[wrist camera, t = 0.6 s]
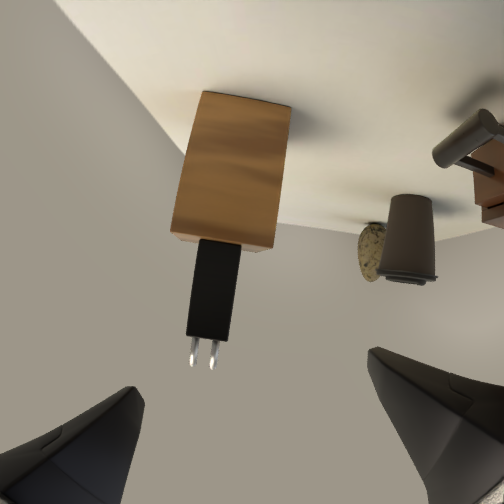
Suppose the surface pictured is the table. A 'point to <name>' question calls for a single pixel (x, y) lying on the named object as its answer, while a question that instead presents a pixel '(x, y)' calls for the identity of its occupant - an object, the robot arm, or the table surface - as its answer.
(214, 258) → the black wall charger
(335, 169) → the table surface
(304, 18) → the table surface
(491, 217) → the cabinet
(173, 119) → the table surface
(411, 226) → the coffee cup
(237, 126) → the pedestal
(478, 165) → the drawer
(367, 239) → the decorative egg
